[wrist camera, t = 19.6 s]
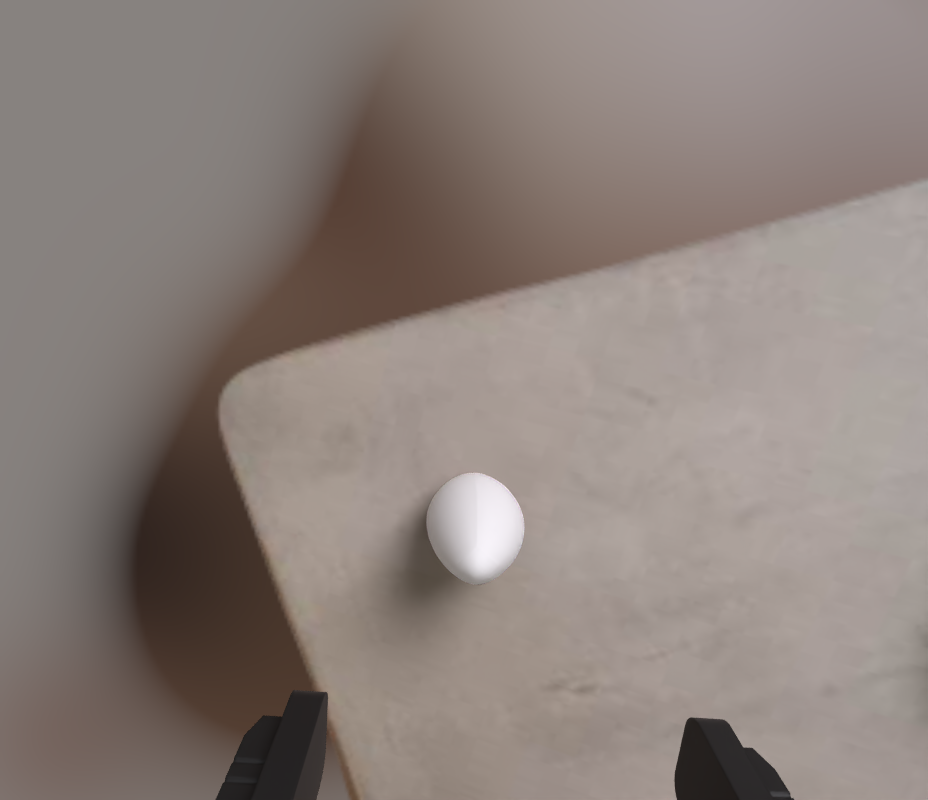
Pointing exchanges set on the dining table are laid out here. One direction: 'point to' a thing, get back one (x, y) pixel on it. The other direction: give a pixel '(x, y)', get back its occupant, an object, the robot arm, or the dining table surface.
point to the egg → (475, 527)
